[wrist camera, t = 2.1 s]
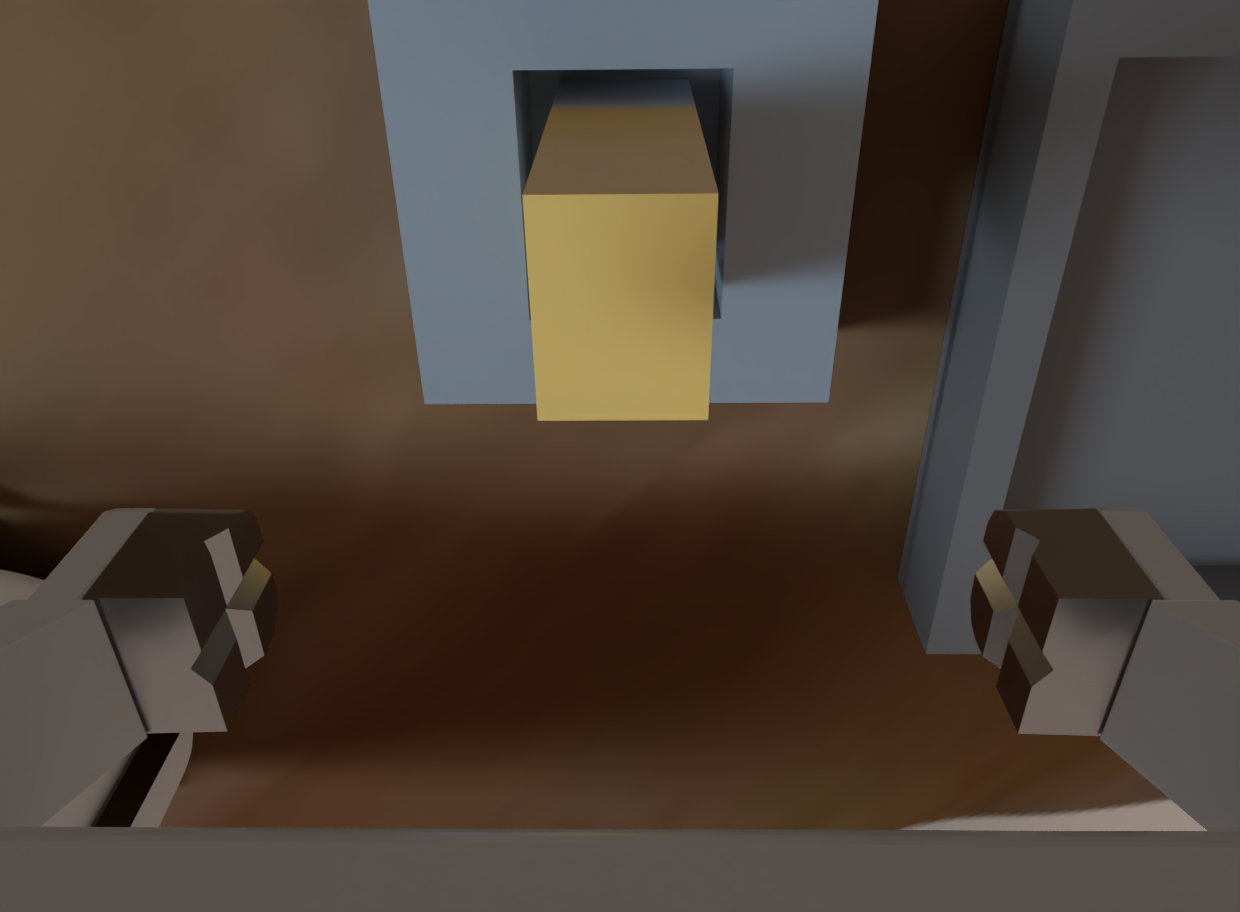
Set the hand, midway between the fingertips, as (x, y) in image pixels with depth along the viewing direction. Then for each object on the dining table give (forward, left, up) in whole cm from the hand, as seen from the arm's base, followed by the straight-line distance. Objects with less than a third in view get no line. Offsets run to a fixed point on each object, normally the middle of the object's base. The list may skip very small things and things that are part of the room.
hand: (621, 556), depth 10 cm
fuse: (0, 0, -15) cm, 15 cm away
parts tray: (+5, +16, -16) cm, 23 cm away
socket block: (0, 0, -16) cm, 16 cm away
